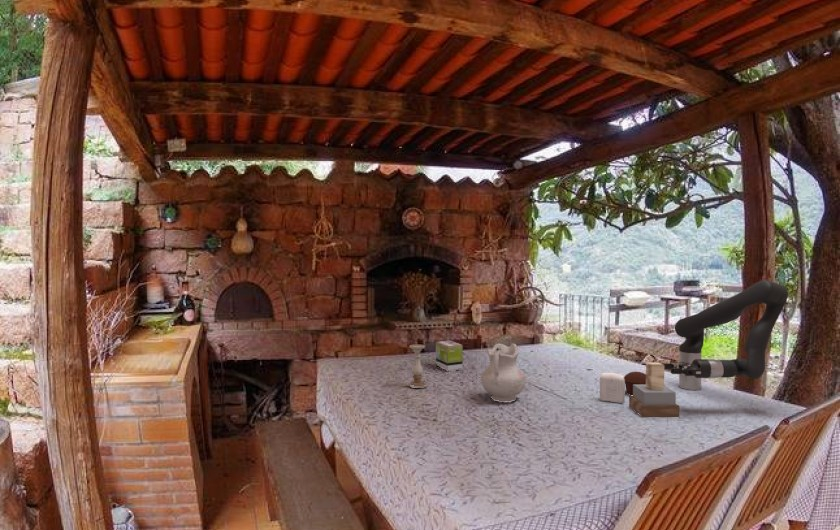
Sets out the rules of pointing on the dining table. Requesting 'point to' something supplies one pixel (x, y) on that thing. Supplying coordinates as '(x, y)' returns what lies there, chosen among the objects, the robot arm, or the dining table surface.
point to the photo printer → (612, 387)
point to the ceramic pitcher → (503, 373)
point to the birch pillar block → (655, 376)
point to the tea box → (449, 355)
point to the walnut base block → (653, 409)
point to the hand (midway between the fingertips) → (666, 368)
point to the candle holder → (417, 365)
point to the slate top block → (654, 395)
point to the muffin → (634, 380)
